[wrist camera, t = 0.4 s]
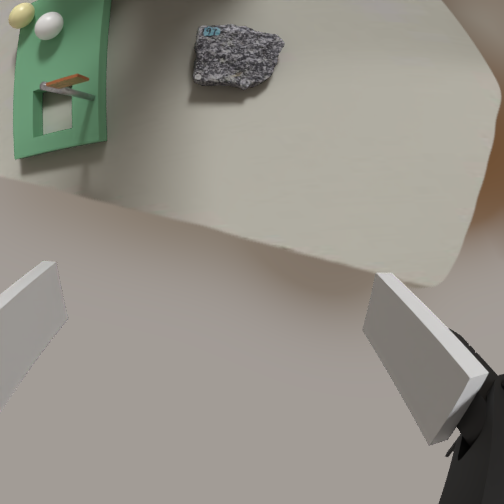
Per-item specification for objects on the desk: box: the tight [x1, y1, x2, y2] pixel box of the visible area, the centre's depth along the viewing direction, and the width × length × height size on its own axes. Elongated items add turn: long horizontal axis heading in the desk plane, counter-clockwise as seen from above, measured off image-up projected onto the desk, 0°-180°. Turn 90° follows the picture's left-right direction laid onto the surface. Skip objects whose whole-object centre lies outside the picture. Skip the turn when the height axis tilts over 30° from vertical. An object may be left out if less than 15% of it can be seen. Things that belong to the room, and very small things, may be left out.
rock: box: [193, 24, 284, 90], centre depth 30 cm, size 8×10×4 cm
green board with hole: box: [13, 0, 112, 159], centre depth 29 cm, size 24×14×2 cm, turn 2°
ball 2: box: [35, 12, 64, 40], centre depth 24 cm, size 4×4×4 cm
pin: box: [40, 73, 95, 101], centre depth 25 cm, size 1×4×11 cm, turn 91°
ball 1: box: [9, 3, 35, 29], centre depth 22 cm, size 4×4×4 cm
